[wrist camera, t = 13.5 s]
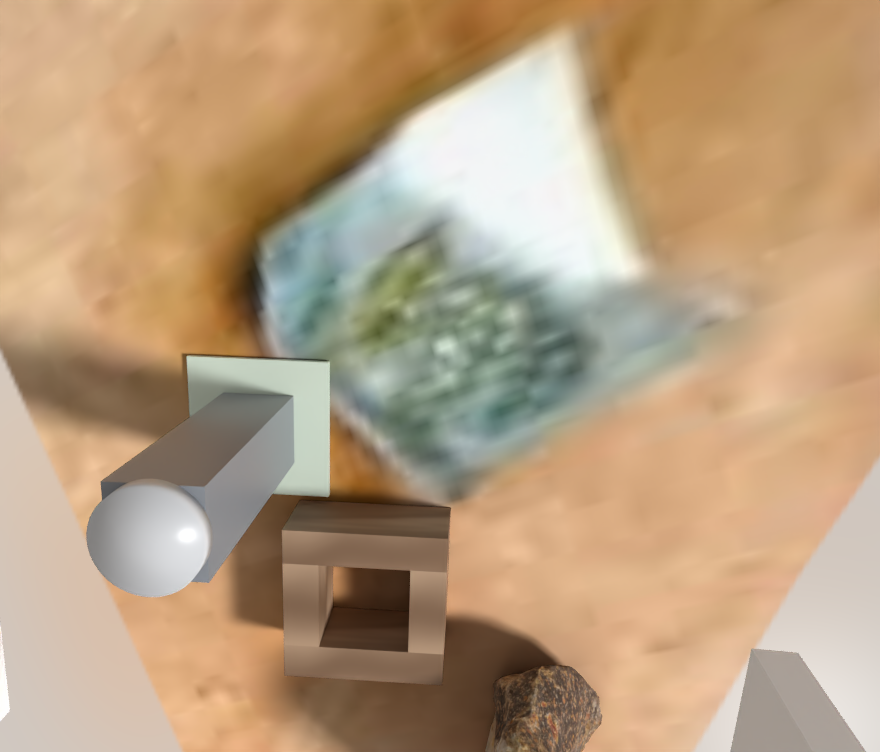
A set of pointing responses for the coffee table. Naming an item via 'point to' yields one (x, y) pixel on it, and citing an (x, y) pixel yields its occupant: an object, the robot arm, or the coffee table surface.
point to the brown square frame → (365, 630)
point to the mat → (276, 378)
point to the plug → (191, 494)
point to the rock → (543, 711)
